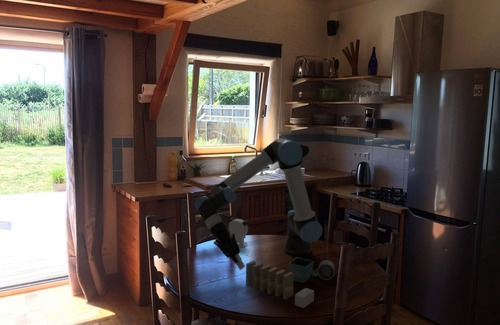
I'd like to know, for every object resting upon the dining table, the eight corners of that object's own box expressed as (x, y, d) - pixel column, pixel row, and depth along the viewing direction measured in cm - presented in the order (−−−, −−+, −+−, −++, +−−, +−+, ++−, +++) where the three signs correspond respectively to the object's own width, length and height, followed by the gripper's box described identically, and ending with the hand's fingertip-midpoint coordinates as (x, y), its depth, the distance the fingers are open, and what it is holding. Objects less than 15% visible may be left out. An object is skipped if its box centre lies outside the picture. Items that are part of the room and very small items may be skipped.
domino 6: (282, 298, 170) (283, 275, 169) (289, 294, 174) (290, 272, 173) (286, 299, 169) (286, 276, 168) (292, 295, 173) (293, 273, 172)
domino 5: (275, 295, 173) (275, 273, 171) (281, 291, 176) (282, 269, 175) (278, 296, 172) (278, 274, 170) (284, 292, 175) (285, 270, 174)
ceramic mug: (334, 274, 196) (334, 258, 195) (334, 280, 188) (334, 264, 187) (312, 272, 198) (312, 257, 197) (311, 279, 190) (311, 263, 189)
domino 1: (245, 285, 183) (246, 263, 181) (252, 281, 186) (253, 260, 185) (248, 286, 182) (248, 264, 180) (255, 282, 185) (255, 261, 184)
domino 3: (260, 290, 178) (260, 268, 176) (266, 286, 181) (267, 264, 180) (263, 291, 177) (263, 269, 175) (269, 287, 180) (270, 265, 179)
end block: (294, 304, 165) (295, 294, 164) (305, 298, 171) (305, 287, 170) (303, 308, 162) (303, 297, 162) (313, 300, 168) (314, 290, 168)
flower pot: (305, 286, 182) (306, 267, 181) (288, 281, 187) (288, 262, 185) (313, 279, 189) (314, 260, 188) (296, 275, 194) (296, 257, 193)
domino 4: (267, 292, 175) (267, 270, 174) (274, 289, 179) (274, 267, 178) (270, 294, 174) (270, 271, 173) (277, 290, 178) (277, 268, 177)
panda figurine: (252, 243, 238) (252, 218, 236) (241, 249, 228) (241, 223, 226) (234, 240, 244) (234, 215, 242) (223, 245, 234) (224, 220, 232)
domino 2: (252, 287, 180) (253, 265, 179) (259, 283, 184) (260, 262, 183) (255, 288, 179) (256, 266, 178) (262, 284, 183) (263, 263, 182)
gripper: (221, 227, 201) (247, 268, 193) (202, 233, 191) (228, 276, 183) (229, 218, 197) (256, 260, 189) (210, 224, 187) (237, 268, 179)
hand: (242, 268), depth 186 cm, fingers closed
